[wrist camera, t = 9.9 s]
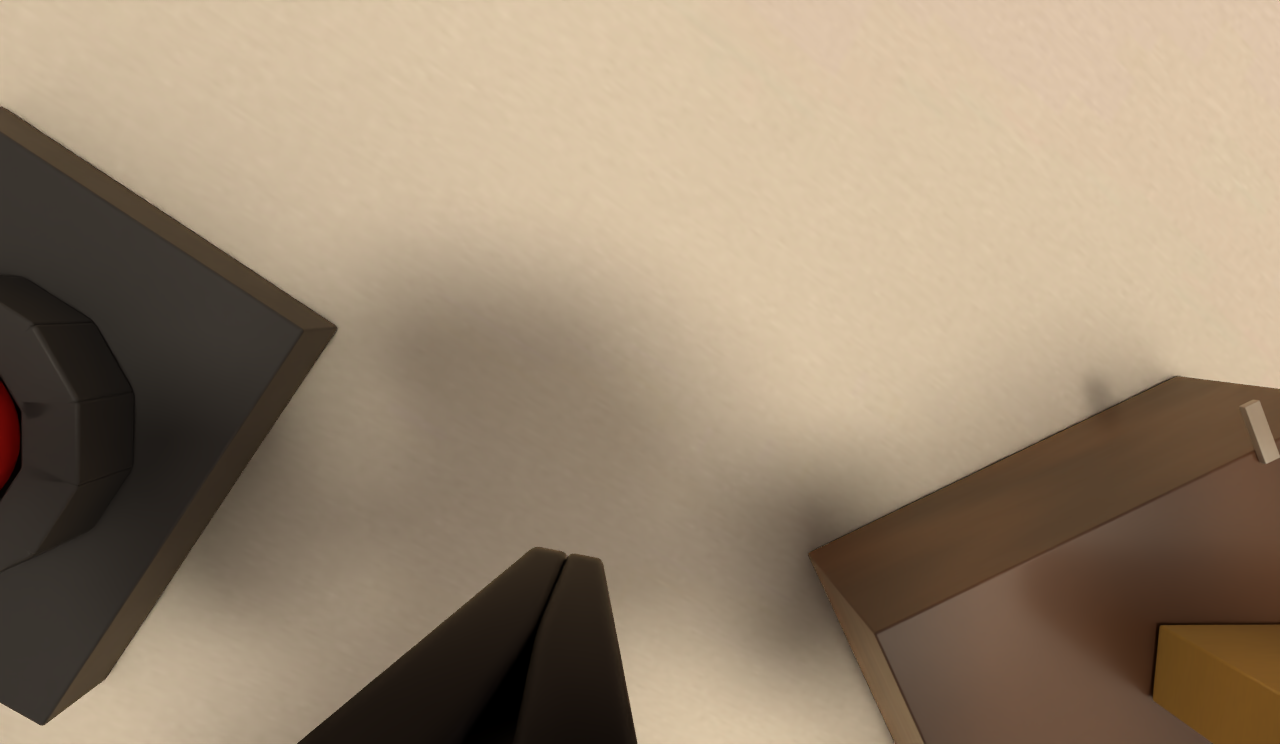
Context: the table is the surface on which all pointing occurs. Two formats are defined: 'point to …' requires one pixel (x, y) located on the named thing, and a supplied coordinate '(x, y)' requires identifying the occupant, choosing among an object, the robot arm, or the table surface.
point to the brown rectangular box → (1068, 573)
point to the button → (8, 435)
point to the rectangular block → (1221, 680)
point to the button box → (117, 408)
